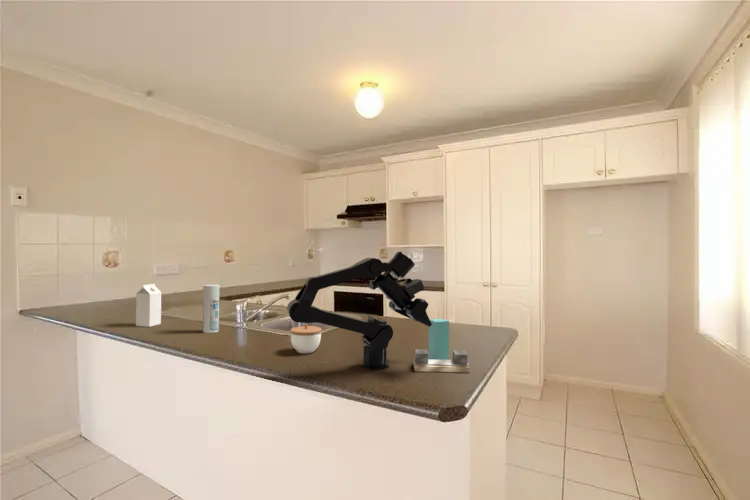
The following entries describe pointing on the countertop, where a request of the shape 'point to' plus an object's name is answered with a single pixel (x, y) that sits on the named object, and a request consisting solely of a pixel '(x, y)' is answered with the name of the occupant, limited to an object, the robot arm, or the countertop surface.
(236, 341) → the countertop surface
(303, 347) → the lidded jar
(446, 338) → the block
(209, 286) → the spray can
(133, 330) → the countertop surface
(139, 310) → the milk carton
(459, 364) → the board
